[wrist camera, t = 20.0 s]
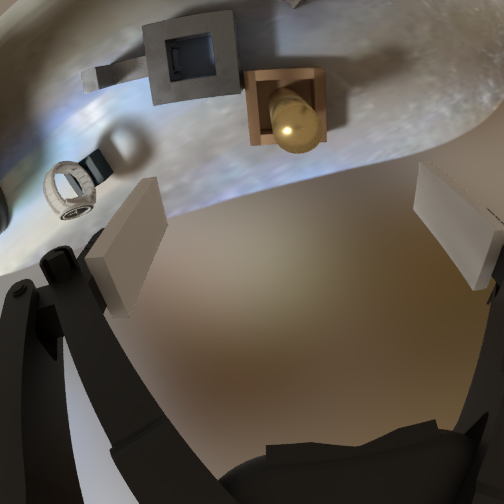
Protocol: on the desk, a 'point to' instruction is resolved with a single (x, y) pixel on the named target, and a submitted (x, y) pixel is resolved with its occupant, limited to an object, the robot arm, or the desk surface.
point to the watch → (77, 185)
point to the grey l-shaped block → (120, 72)
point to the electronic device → (291, 3)
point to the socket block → (194, 26)
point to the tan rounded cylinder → (294, 121)
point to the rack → (268, 80)
